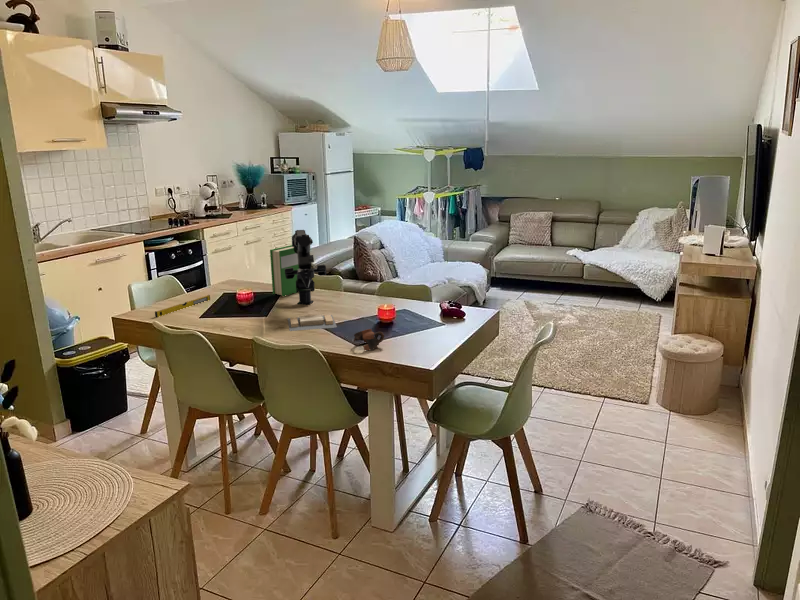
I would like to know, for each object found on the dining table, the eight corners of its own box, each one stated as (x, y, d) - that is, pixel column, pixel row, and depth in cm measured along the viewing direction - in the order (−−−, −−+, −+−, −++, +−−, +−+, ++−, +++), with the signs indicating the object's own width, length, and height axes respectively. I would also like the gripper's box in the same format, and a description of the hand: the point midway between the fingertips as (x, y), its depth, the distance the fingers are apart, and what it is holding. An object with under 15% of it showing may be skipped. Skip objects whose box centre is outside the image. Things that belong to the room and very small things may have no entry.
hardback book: (283, 296, 313) (280, 251, 307) (272, 295, 317) (269, 249, 311) (306, 289, 327) (304, 245, 321) (296, 287, 331) (293, 244, 325)
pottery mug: (357, 353, 232) (351, 333, 233) (358, 356, 241) (352, 336, 242) (387, 344, 233) (381, 324, 234) (387, 347, 242) (380, 327, 244)
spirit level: (157, 318, 280) (156, 311, 279) (155, 317, 280) (154, 311, 279) (210, 300, 308) (209, 295, 307) (208, 300, 309) (207, 294, 308)
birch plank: (299, 316, 268) (300, 321, 260) (321, 314, 270) (323, 319, 262) (299, 320, 268) (300, 325, 261) (322, 318, 270) (323, 324, 263)
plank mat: (287, 320, 272) (287, 314, 272) (332, 317, 277) (331, 311, 276) (289, 333, 254) (289, 327, 254) (337, 329, 259) (336, 323, 258)
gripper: (282, 251, 274) (284, 281, 267) (323, 247, 277) (327, 276, 270) (284, 263, 284) (287, 293, 277) (324, 260, 286) (328, 288, 279)
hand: (307, 287), depth 276 cm, fingers closed
